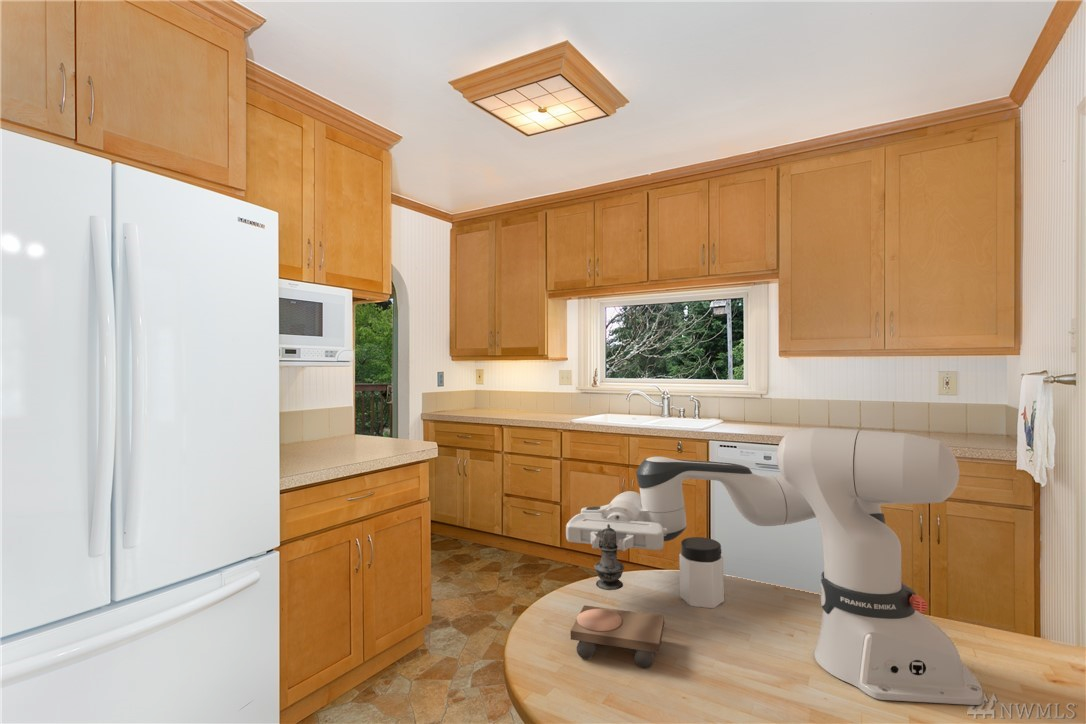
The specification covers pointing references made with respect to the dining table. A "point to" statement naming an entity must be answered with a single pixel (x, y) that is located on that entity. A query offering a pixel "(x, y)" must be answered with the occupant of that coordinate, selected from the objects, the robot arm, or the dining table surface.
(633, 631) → the roller slab
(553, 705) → the dining table surface
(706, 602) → the jar
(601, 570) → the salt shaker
